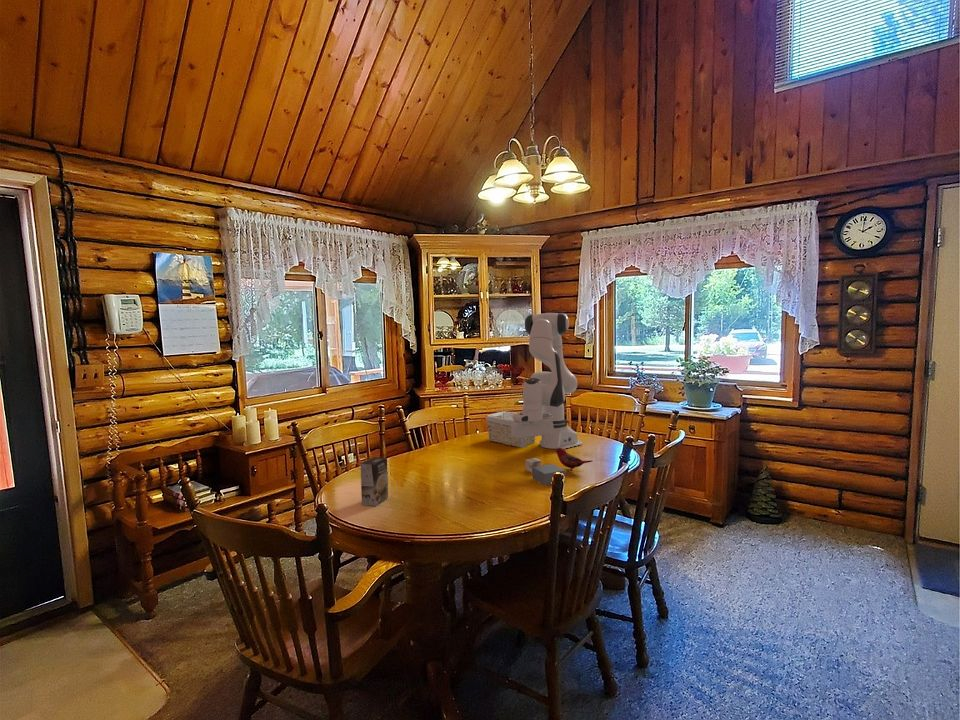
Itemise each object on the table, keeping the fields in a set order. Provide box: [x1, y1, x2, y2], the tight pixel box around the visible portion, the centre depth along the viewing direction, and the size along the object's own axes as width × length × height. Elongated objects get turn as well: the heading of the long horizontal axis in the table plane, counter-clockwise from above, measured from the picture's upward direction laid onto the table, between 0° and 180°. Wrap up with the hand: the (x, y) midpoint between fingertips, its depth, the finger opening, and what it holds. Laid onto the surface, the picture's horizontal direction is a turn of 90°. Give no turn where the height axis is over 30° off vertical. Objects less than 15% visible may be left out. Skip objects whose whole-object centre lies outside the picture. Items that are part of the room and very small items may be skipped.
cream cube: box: [525, 457, 542, 474], centre depth 227 cm, size 5×5×5 cm
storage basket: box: [485, 410, 536, 448], centre depth 276 cm, size 24×16×15 cm
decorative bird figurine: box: [554, 448, 593, 472], centre depth 224 cm, size 3×18×10 cm, turn 59°
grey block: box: [531, 463, 566, 486], centre depth 214 cm, size 10×10×5 cm
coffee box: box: [359, 456, 389, 507], centre depth 193 cm, size 9×6×16 cm
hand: (532, 446), depth 226 cm, fingers open, 8 cm apart
